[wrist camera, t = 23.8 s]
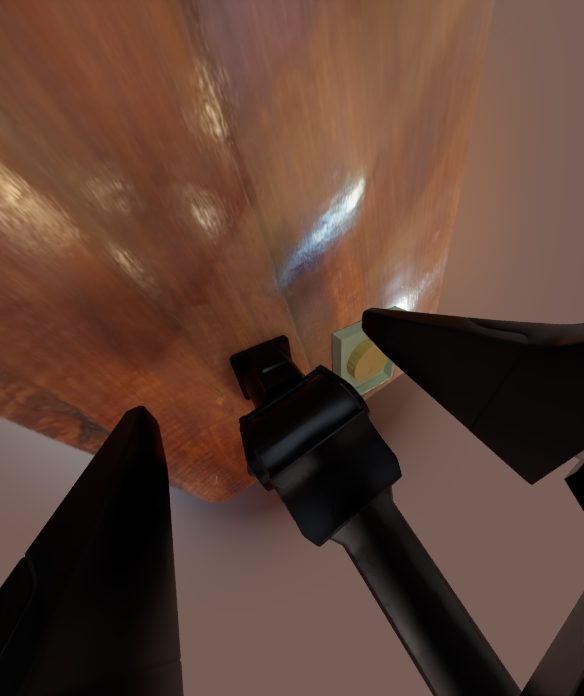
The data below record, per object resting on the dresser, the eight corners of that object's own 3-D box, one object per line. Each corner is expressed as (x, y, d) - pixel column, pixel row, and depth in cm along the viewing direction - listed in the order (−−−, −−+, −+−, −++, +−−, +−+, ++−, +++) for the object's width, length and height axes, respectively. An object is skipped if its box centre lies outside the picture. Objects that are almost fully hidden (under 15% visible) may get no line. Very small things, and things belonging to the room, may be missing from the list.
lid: (360, 334, 29) (369, 340, 28) (388, 339, 33) (397, 344, 32) (339, 375, 32) (347, 382, 30) (367, 375, 35) (375, 381, 34)
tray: (383, 371, 38) (391, 377, 37) (333, 399, 35) (340, 407, 33) (395, 305, 30) (406, 310, 29) (331, 333, 27) (341, 340, 26)
